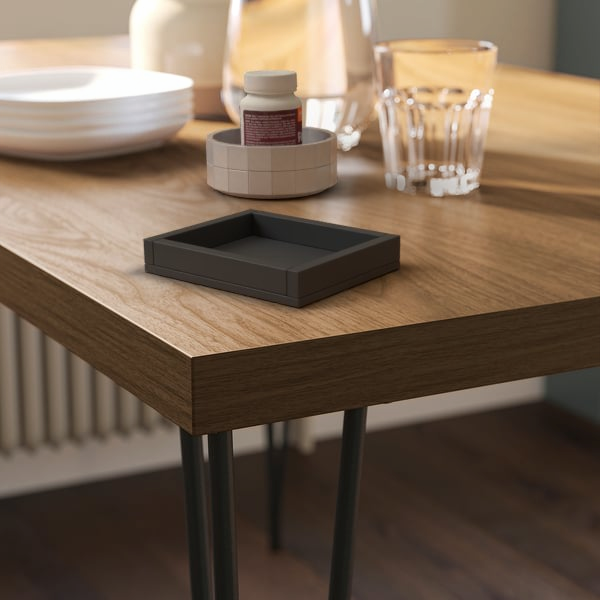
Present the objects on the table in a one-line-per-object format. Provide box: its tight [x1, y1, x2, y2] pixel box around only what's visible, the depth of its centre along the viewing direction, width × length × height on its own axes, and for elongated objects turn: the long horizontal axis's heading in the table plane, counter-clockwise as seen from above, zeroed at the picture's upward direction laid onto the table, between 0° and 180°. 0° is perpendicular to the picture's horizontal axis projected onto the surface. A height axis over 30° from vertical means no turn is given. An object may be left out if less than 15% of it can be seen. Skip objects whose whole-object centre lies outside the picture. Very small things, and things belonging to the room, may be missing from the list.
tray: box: [142, 208, 401, 308], centre depth 69 cm, size 12×10×2 cm
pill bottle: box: [239, 69, 303, 146], centre depth 90 cm, size 5×5×8 cm
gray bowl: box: [205, 125, 338, 200], centre depth 91 cm, size 10×10×4 cm
